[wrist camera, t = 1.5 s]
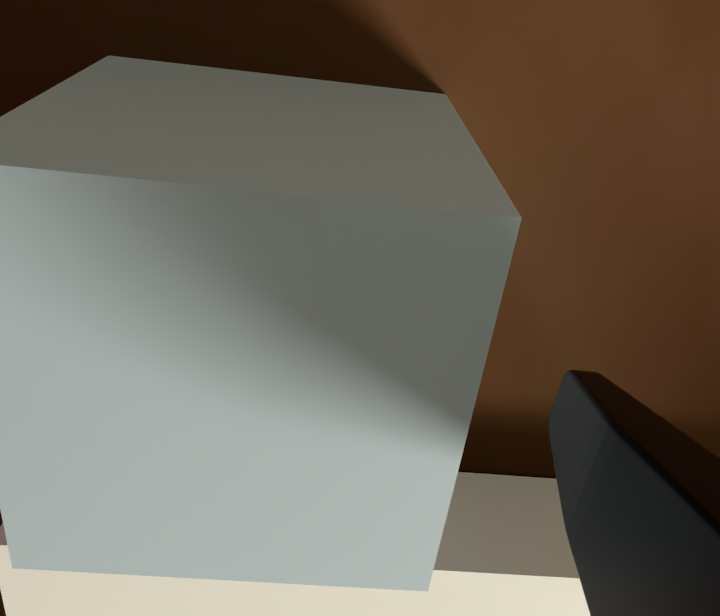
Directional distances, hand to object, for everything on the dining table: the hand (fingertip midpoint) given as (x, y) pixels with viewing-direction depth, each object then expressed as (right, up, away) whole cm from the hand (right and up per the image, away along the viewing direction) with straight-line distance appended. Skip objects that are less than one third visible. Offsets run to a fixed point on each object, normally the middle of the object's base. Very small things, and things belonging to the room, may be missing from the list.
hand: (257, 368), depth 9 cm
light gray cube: (0, +2, +5) cm, 5 cm away
